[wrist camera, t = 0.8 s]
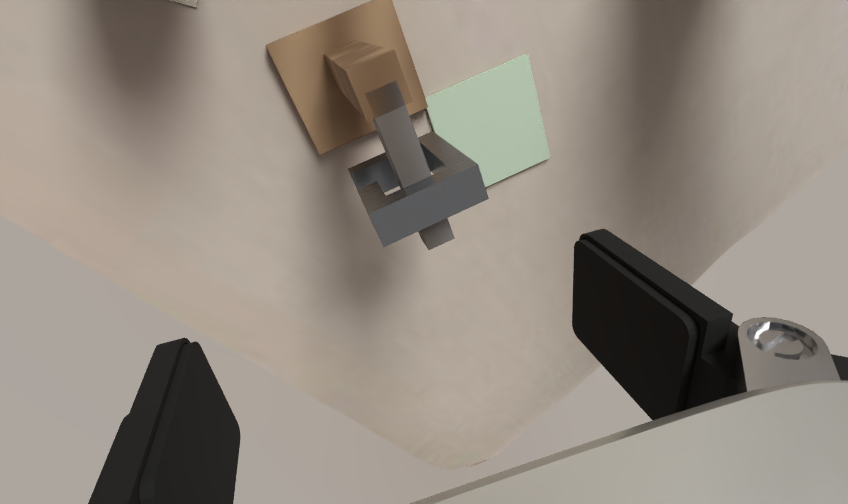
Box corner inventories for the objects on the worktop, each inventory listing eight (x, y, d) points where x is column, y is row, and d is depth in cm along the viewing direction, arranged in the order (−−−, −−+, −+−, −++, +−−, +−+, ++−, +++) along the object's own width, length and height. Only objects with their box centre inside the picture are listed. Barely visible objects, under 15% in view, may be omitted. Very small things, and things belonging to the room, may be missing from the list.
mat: (525, 53, 36) (528, 53, 36) (548, 156, 41) (550, 157, 40) (422, 98, 36) (424, 99, 35) (457, 198, 40) (458, 199, 40)
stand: (386, -6, 32) (448, -22, 20) (440, 151, 38) (513, 210, 26) (266, 45, 31) (256, 59, 19) (340, 196, 37) (368, 278, 25)
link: (432, 131, 30) (478, 164, 23) (442, 159, 31) (488, 198, 24) (347, 169, 29) (368, 214, 22) (360, 195, 30) (383, 247, 23)
